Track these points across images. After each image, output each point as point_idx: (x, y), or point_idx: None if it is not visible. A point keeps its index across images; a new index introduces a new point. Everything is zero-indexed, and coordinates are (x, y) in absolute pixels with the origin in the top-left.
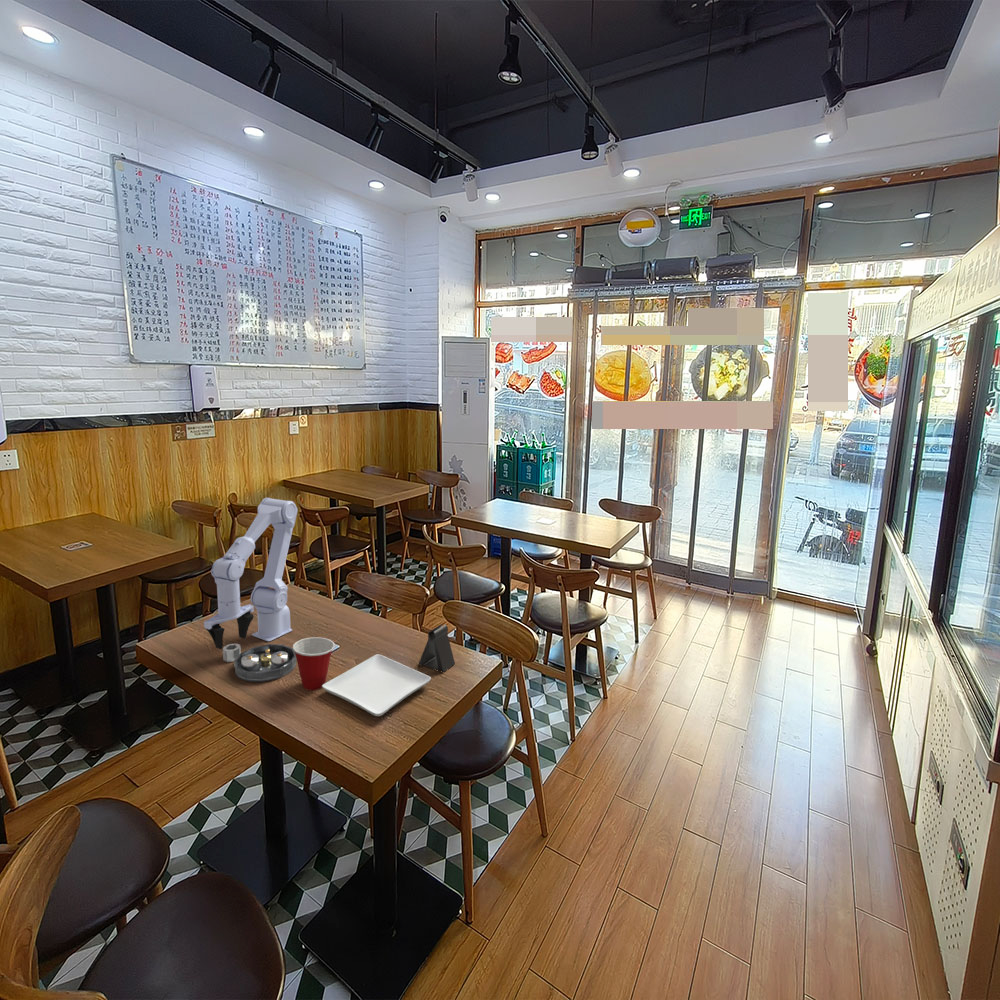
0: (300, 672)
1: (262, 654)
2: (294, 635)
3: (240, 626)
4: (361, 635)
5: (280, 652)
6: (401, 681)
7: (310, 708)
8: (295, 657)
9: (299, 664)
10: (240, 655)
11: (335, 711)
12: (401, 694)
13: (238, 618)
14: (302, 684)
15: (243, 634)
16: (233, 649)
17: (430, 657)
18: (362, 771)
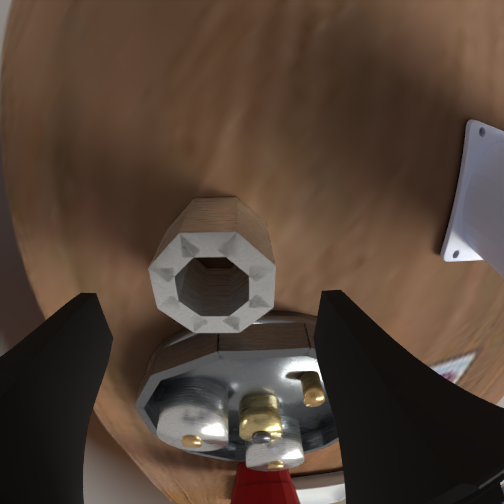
0: (232, 499)
1: (260, 426)
2: (494, 285)
3: (360, 392)
4: (483, 387)
5: (293, 458)
6: (330, 489)
7: (202, 478)
8: (315, 449)
9: None
10: (202, 365)
11: (222, 487)
12: (301, 496)
13: (403, 472)
14: (239, 468)
15: (324, 362)
16: (202, 319)
17: None
18: (174, 501)
